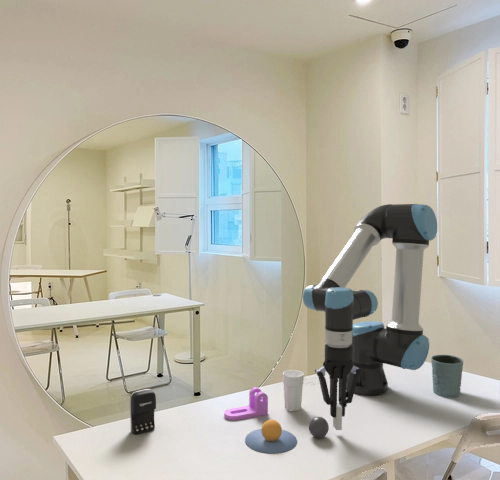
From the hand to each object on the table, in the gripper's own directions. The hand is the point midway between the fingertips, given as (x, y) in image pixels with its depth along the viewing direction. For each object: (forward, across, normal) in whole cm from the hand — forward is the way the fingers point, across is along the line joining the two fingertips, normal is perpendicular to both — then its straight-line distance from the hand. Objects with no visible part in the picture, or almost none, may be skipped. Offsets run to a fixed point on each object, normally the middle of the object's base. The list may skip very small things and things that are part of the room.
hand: (337, 427), depth 134 cm
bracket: (+2, -23, +18) cm, 29 cm away
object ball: (-1, -19, 0) cm, 19 cm away
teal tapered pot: (+2, +48, +22) cm, 53 cm away
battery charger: (+2, -53, +12) cm, 54 cm away
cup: (+2, -7, +20) cm, 21 cm away
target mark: (+2, -19, 0) cm, 19 cm away
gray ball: (-1, -6, 0) cm, 6 cm away
